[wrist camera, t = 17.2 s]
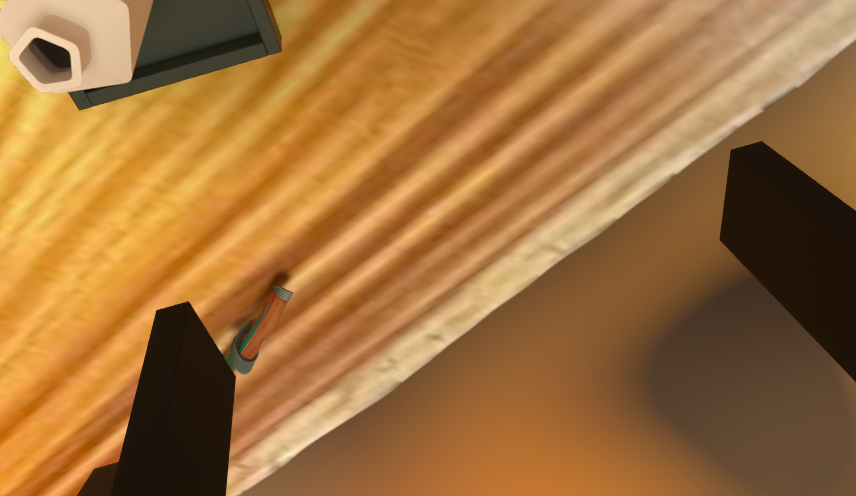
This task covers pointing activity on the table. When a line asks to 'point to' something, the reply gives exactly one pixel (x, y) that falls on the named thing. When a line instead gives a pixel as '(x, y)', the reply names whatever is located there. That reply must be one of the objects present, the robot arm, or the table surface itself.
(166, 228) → the table surface
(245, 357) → the knife
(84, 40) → the perfume bottle
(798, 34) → the table surface
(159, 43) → the tray
